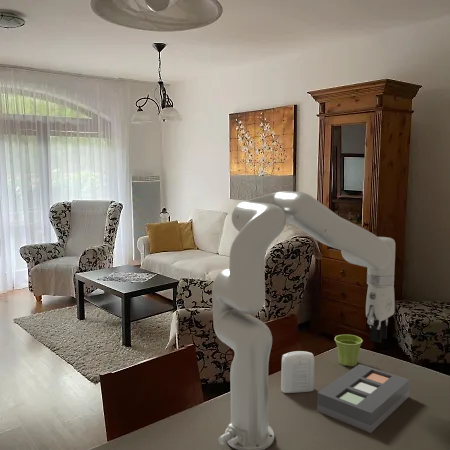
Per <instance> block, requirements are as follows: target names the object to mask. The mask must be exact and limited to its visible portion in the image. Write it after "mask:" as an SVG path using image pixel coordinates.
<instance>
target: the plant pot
mask: <svg viewBox="0 0 450 450" xmlns="http://www.w3.org/2000/svg"><path fill="white" fill-rule="evenodd" d="M334 341H335V344H336V348H337V355H338V356H337V357H338V363H339V364H340V365H342V366H344V367H345V366H348V367H356V366H357V365H358V360H359V353H360V348H361V346H362V343H363V341H364V340H363V339H362V338H361V337H359V336H358V335H355V334H354V335H353V334H339V335H335V337H334Z"/></svg>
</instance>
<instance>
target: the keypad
mask: <svg viewBox="0 0 450 450" xmlns="http://www.w3.org/2000/svg"><path fill="white" fill-rule="evenodd" d="M372 373H374V374H377V375H380V376H384V377H387V378H389V379H388V380H387V381H385V382H384V383H383V384H382V383H379V382H376V381H373V380H370V379H367V378H366V377H368V376H369V375H370V374H372ZM360 382H362V383H365V384H368V385H371V386H374V387H377V389H376V390H374V391H373V392H372V393H371V394H370V393H367V392H364V391H361V390H358V389H355V388H353V387H354V386H356V385H357V384H358V383H360ZM410 383H411V382H410V379H409V378H407V377H403V376H400V375H397V374H393V373H389V372H387V371H383V370H380V369H376V368H373V367H371V366H367V365H364V364H360V363H358V364H356V365H355V366H353V368H351V369H350V370H348V371H347V372H346V373H344V374H343V375H341V376H340V377H338V378H336V379H335V380H334V381H333V382H331V383H330V384H328V385H326V386H325V387H324V388H322V389H321V390H319V391H318V392H317V393H316V397H317V398H316V399H317V400H316V403H317V405H316V411H317V412H319V413H321V414H322V415H323V414H324V415H326V416H328V417H330V418H333V419H335V420H338V421H340V422H343V423H345V424H348V425H349V426H353V427H355V428H357V429H360V430H362V431H365V432H368V433H370V434H372V433H373V432H374V431H375V430H376V429H377V428H378V427H380V425H381V424H383V422H384V421H385V420H386V419H388V417H389V416H391V414H393V412H395V411H396V410H397V409H398V408H399V407H400V406H401V405H402V404H403V403H404V402H405V401H406V400H407V399H409V397H410ZM346 392H349V393H352V394H355V395H357V396H360V397H363V398H364V399H363V400H362V401H361V402H360V403H358V404H357V405H356V404H353V403H350V402H348V401H345V400H342V399H340V397H341V396H342V395H344V394H345V393H346Z"/></svg>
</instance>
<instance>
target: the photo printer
mask: <svg viewBox="0 0 450 450" xmlns="http://www.w3.org/2000/svg"><path fill="white" fill-rule="evenodd" d="M280 371H281V379H280V381H281V382H280V390H281V392H282V393H285V394H291V393H292V394H293V393H306V392H308V393H309V392H314V389H315V387H314V385H315V356H314V354H313V353H312V352H309V351H306V350H305V351H303V350H302V351H301V350H296V351H290V352H287V353H284V354H282V355H281V370H280Z"/></svg>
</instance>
